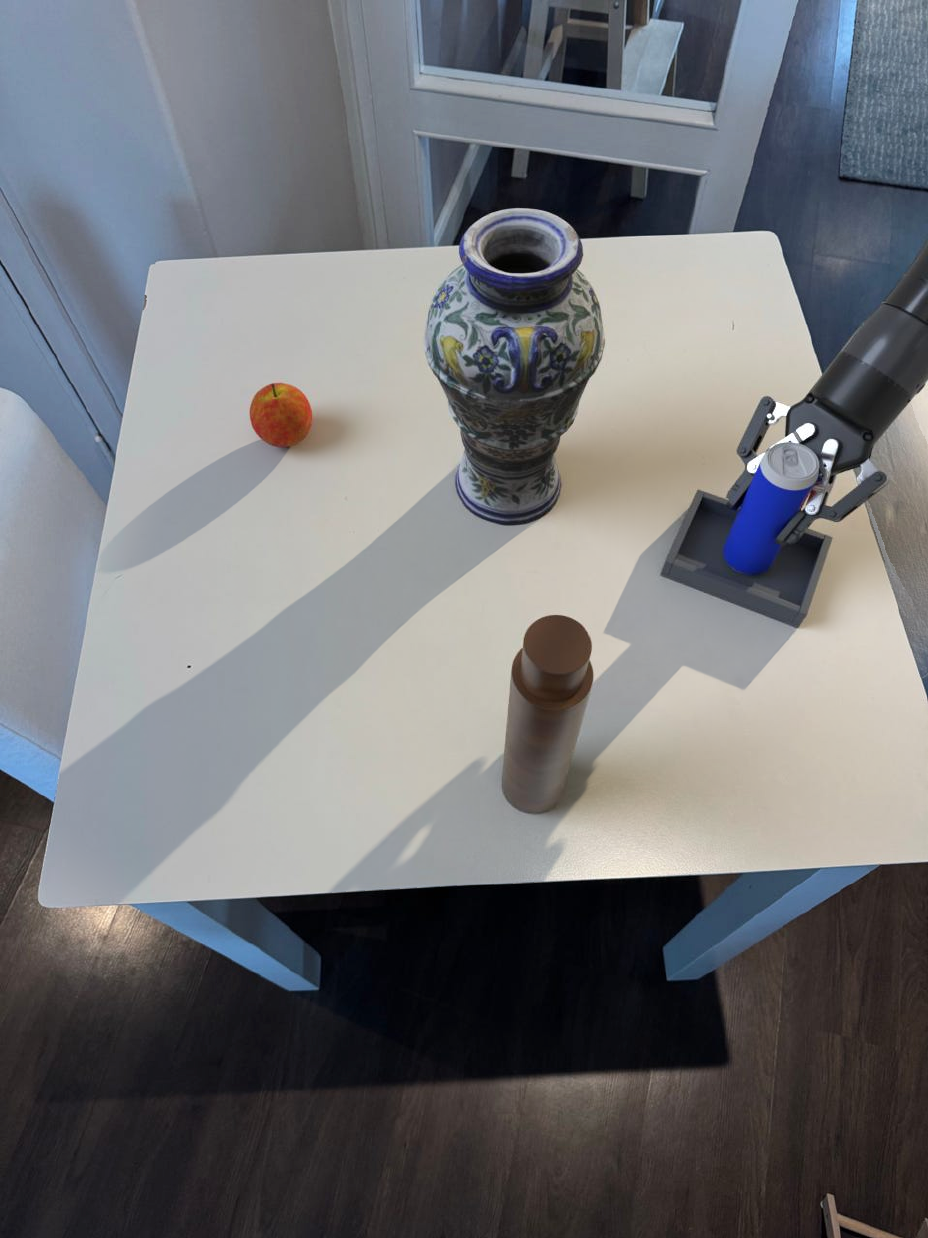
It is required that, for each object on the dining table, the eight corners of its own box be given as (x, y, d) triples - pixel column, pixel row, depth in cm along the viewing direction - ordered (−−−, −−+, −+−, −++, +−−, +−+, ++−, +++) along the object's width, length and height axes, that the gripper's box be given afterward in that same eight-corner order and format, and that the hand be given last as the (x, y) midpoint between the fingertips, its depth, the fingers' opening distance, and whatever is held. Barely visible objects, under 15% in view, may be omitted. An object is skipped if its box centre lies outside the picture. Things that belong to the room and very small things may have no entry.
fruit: (321, 453, 97) (309, 402, 90) (261, 464, 96) (245, 414, 89) (311, 410, 100) (300, 358, 93) (253, 421, 99) (237, 369, 92)
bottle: (572, 770, 76) (614, 626, 54) (548, 824, 74) (581, 696, 52) (517, 745, 78) (535, 594, 55) (491, 797, 75) (499, 661, 53)
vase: (433, 547, 90) (417, 315, 64) (432, 428, 98) (417, 182, 73) (588, 543, 90) (634, 310, 64) (573, 424, 99) (608, 178, 73)
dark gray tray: (824, 551, 89) (833, 536, 87) (798, 628, 84) (806, 615, 82) (692, 503, 92) (697, 488, 90) (659, 575, 87) (664, 561, 85)
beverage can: (775, 578, 86) (828, 483, 73) (725, 577, 86) (768, 482, 73) (767, 537, 89) (816, 438, 76) (718, 537, 89) (758, 438, 76)
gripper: (803, 320, 74) (685, 479, 80) (948, 407, 68) (808, 571, 75) (819, 340, 80) (708, 486, 87) (952, 422, 75) (823, 572, 81)
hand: (755, 525), depth 81 cm, fingers closed on beverage can, 5 cm apart
